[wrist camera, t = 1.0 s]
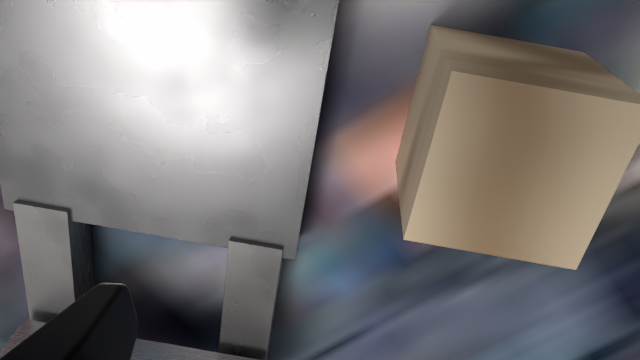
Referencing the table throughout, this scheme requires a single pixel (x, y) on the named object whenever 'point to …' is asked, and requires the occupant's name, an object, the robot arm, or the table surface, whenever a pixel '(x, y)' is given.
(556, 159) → the block
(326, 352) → the table surface
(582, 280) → the table surface
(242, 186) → the press bed
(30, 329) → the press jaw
